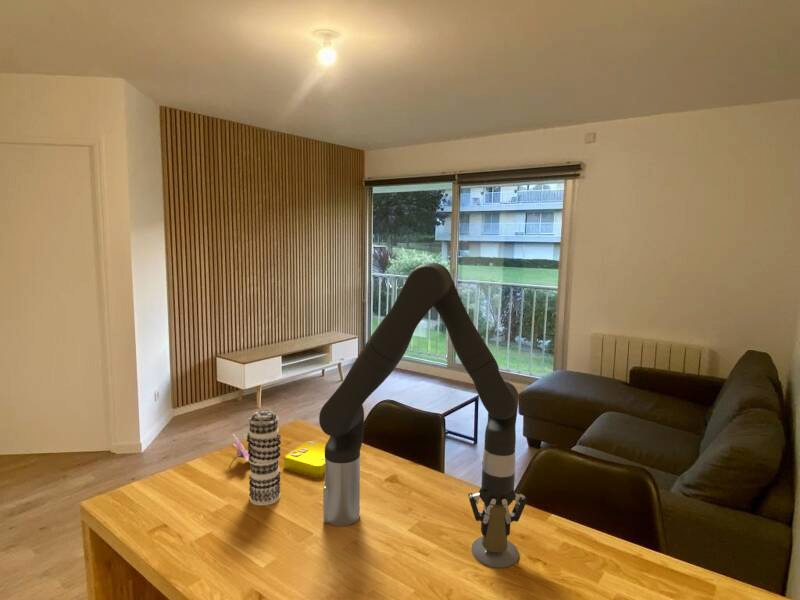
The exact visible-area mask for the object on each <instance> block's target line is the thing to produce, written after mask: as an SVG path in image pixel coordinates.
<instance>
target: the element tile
mask: <svg viewBox="0 0 800 600" xmlns="http://www.w3.org/2000/svg"><path fill="white" fill-rule="evenodd" d="M326 444H327V443H324V442H320V441H316V440H308V441H306V442H304V443H303V444H300V445H299V446H297V447H296V448H294V449H293V450H291V451H288V452H287V453H286V454H284V456H283V468H284V469H285V470H287V471H290V472H293V473H297V474H300V475H304V476H306V477H311V478H313V479H314V478H315V479H319V478H323V477H325V446H326Z"/></svg>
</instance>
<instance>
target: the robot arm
mask: <svg viewBox="0 0 800 600" xmlns="http://www.w3.org/2000/svg"><path fill="white" fill-rule="evenodd" d="M432 308H434V309H435V311H437V313H438V315H439V317H440V318H441V321H442V322H443V323H444V326H445V328H446V331H447V333H448V336H449V338H450V342H451V344H452V346H453V349H454V351H455V353H456V356H457V357H458V360H459V361H460V363H461V364H462V366H463V368H464V369H465V371H466V372H467V374H468V375H469V377H470V378H471V380H472V382H473V384H474V387H475V390H476V392H477V395H478V396H479V400H480V401H481V403H482V405H483V407H484V408H485V410H486V411H487V423H486V427H485V430H484V431H485V433H484V446H483V447H484V448H483V455H482V460H481V466H482V467H481V468H482V469H481V486H480V489H479V491H478V492H476V493H473V492H469V493H468V494H467V497H468V500H469V503H470V507H471V509H472V513H473V516H474V520H475V521H477V522H480V531H481V534H482V536H483V535H485V537H486V533H487V529H488V520H489V517H490V516H489V515H490V509H491V508H492V507H494V506H495V504H502V506H503V507H506V508H505V509H506V511H507V512H506V516H505V528H506V538H507V539H508V536H510V534H511V523H513V522H515V523H517V522H519V520H520V518H521V516H522V514H523V511H524V508H525V506H526V505H527V504H526V503H527V501H528V500H527V499H526V497H525V495H524V493H519V494H518V493H516V492H515V478H516V459H517V458H516V441H517V440H516V437H517V436H516V434H517V433H516V423H517V416H518V415H517V414H518V408H519V398H520V397H519V393H518V390H517V388H516V386H514V384H513V383H511V382H509V381H506V380H504V378H503V377H502V375H501V373H500V367H499V364H498V362H497V360H496V359H495V357H494V355H493V353H492V351H491V350H490V349H489V347H488V346H487V344H486V342H485V340H484V339H483V337H482V335H481V334H480V332H479V331H478V329H477V327H476V326H475V324H474V323H473V321H472V319H471V317H470V315H469V313H468V311H467V309H466V307H465V306H464V303H463V301H462V299H461V296H460V294H459V292H458V290H457V287H456V284H455V282H454V280H453V278H452V275H451V273H450V271H449V270H448V269H447V267H446V266H444V265H443V264H442V263H441V264H440V263H438V262H428V263H424V264H420V265H418V266H416V267H415V268H414V269H413V270H411V272H410V273H409V274H408V276H407V278H406V280H405V282H404V284H403V286H402V288H401V290H400V293H399V294H398V296H397V297H396V300H395V302H394V303H393V305H392V307H391V309H389V311H388V312H387V314H386V315H385V317H384V318H383V319H382V320H381V322H380V323H379V324H378V326H377V327H376V328H375V330H374V331H373V333H372V334H371V335H370V337H369V338H368V340H367V342H366V343H365V345H364V346H363V348H362V349H361V350H360V351H359V352H360V353H359V354H358V356H357V358H356V359H355V361H354V362H353V364H352V365H351V367H350V369H349V371H348V372H347V373H346V376H345V378H344V379H343V381H342V383H341V384H340V385H339V386H338V388H337V389H336V390H335V391H334V392H333V394H332V395H331V396H330V398H329V399H328V400H327V401H326V402H325V403H324V405H322V407H321V409H320V411H319V415H318V417H319V418H318V422H319V426H320V428H321V430H322V432H323V433H324V434H326V435H327V436H329V439H328V440H327V442H326V443H325V444H326V446H325V476H324V485H323V489H322V490H323V493H322V494H323V496H322V497H323V499H322V500H323V503H322V504H323V523H326V524H330V525H332V526H335V527H345V526H350V525H352V524H355V523H356V522H357V521H358V520H359V519H360V515H361V514H360V510H361V507H360V503H361V502H360V498H361V496H360V495H361V494H360V493H361V492H360V491H361V485H360V484H361V478H360V477H361V475H360V474H361V449H362V446H363V443H364V442H363V441H364V427H365V410H364V407H363V406H364V403H366V400H367V399H369V397H370V396H371V395H372V394H374V392H375V391H376V390H377V389H378V388H379V387H380V386H381V385H382V384H383V383H384V382H385V381H386V380H387V378H388V377H390V375H391V374H392V372H393V371H394V370H395V369H396V367H397V365H398V364H399V363H400V361H401V360H402V358H403V357H404V356H405V353H407V349H408V347H409V346H410V343H411V341H412V337H413V335H414V332H415V330H416V328H418V325H419V324H420V323H421V321H422V320H423V319H424V317H425V316H426V315H427V314H428V313H429V311H431V309H432ZM480 499H481V501H482V502H483V506H482V511H481V512H480V511H479V509H478V506H477V505H478V504H479V500H480ZM513 502H515V504H514V506H513V509H512V511H511V512H510V508H509V506H510V505H512V503H513ZM485 505H486V506H487V510H486V508H485ZM490 507H491V508H490Z"/></svg>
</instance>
